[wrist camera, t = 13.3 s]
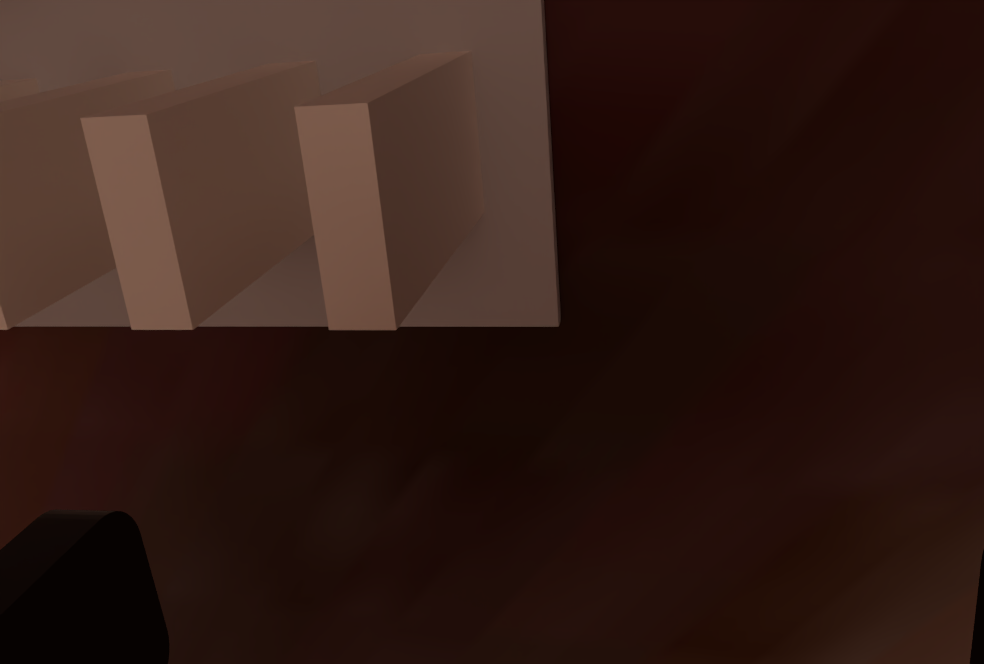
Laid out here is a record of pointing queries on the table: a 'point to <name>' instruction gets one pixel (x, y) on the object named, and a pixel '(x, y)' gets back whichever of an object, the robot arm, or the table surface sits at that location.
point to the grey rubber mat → (340, 61)
